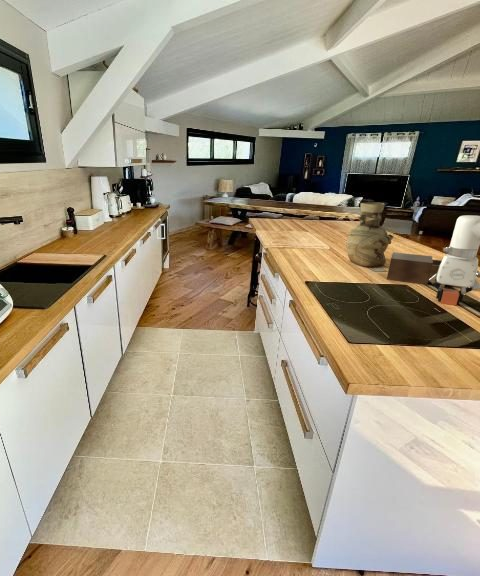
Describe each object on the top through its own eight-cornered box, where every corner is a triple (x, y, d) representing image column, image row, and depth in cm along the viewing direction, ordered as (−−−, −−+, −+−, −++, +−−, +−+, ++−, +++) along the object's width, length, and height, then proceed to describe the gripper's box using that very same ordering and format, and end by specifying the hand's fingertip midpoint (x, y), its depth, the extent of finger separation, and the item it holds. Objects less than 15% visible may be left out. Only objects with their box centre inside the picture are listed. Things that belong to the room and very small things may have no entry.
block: (454, 301, 113) (458, 290, 112) (456, 305, 110) (459, 294, 108) (439, 299, 116) (442, 288, 114) (440, 303, 112) (443, 291, 111)
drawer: (474, 281, 130) (480, 263, 127) (478, 290, 121) (484, 270, 118) (420, 274, 140) (425, 257, 137) (421, 281, 131) (425, 264, 128)
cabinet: (426, 277, 139) (432, 256, 136) (427, 285, 130) (433, 263, 126) (388, 272, 147) (392, 252, 144) (386, 279, 137) (391, 258, 134)
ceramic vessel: (395, 269, 151) (409, 205, 140) (348, 267, 155) (358, 205, 145) (382, 259, 168) (394, 201, 158) (340, 257, 173) (348, 201, 162)
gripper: (431, 252, 108) (419, 300, 114) (497, 258, 99) (480, 310, 105) (431, 247, 114) (419, 294, 120) (493, 253, 105) (476, 303, 111)
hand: (447, 301), depth 113 cm, fingers closed on block, 4 cm apart
